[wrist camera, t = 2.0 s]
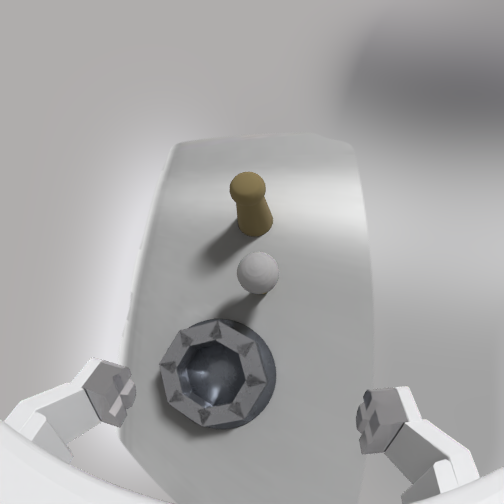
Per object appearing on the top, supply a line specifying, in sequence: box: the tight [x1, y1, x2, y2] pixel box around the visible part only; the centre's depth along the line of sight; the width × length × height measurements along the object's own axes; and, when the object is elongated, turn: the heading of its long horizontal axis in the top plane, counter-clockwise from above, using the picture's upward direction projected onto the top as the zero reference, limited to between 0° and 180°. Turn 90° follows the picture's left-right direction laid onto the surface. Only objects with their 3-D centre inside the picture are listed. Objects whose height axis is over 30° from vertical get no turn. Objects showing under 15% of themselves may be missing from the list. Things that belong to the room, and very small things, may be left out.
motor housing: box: [159, 319, 276, 429], centre depth 37 cm, size 17×17×5 cm
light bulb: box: [237, 252, 279, 294], centre depth 39 cm, size 6×6×10 cm
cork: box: [230, 172, 273, 237], centre depth 44 cm, size 6×6×11 cm
